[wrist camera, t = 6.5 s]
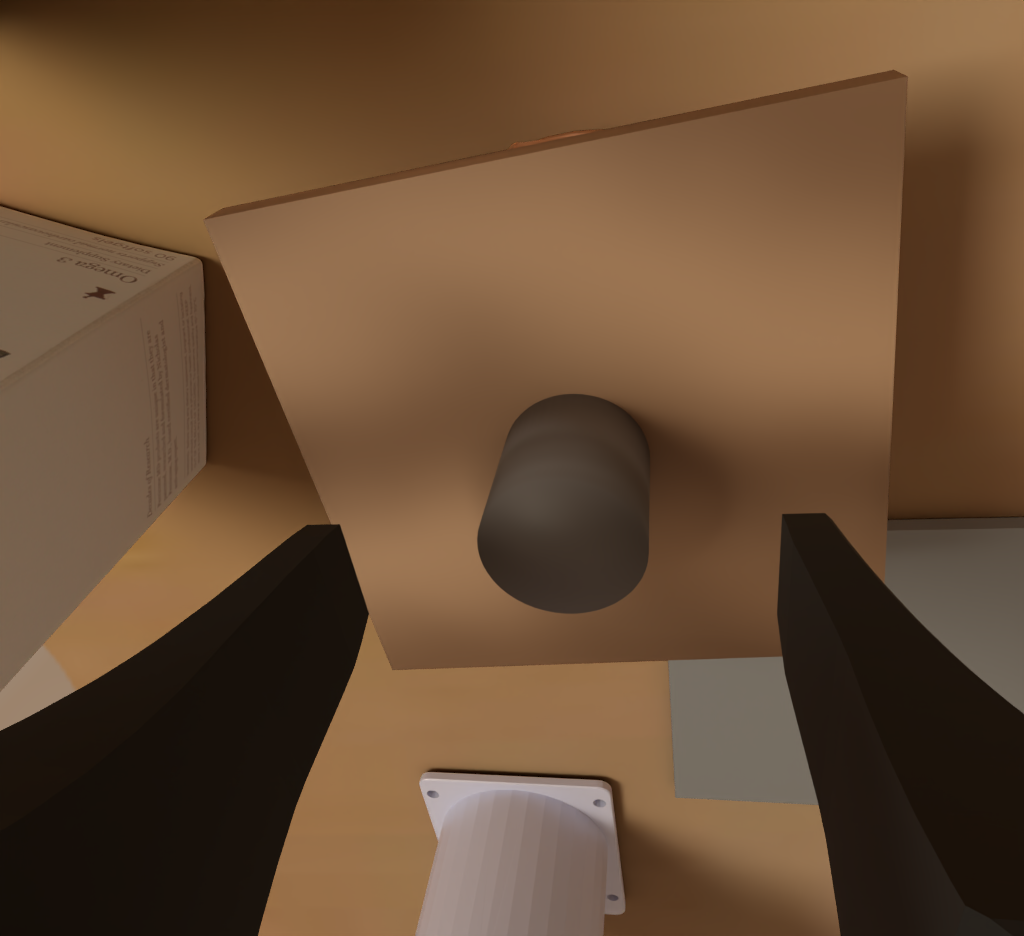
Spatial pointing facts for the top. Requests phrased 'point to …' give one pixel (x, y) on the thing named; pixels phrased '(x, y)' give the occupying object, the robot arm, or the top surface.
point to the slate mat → (762, 682)
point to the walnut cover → (593, 373)
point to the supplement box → (88, 412)
